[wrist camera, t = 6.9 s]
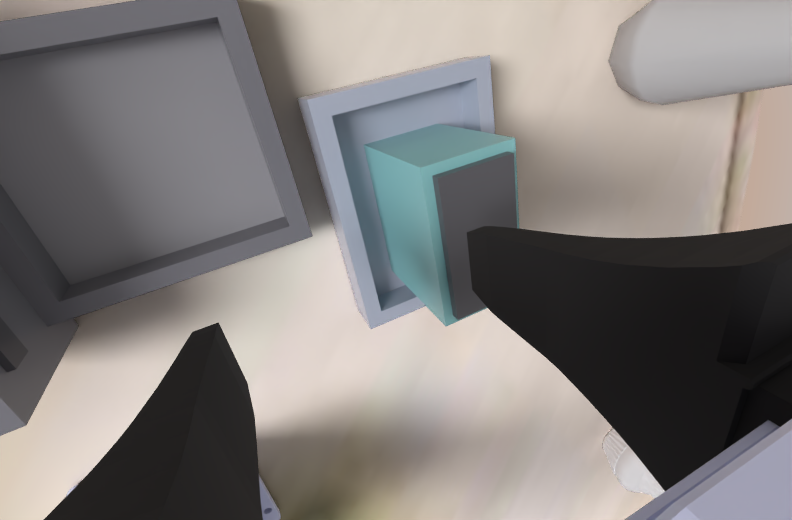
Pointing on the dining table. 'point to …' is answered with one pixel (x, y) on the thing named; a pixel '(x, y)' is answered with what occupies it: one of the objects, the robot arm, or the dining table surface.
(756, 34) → the salt shaker
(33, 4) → the dining table surface
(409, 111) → the tray
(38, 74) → the bay
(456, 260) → the teal block grey face
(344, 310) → the dining table surface
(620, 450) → the muffin
